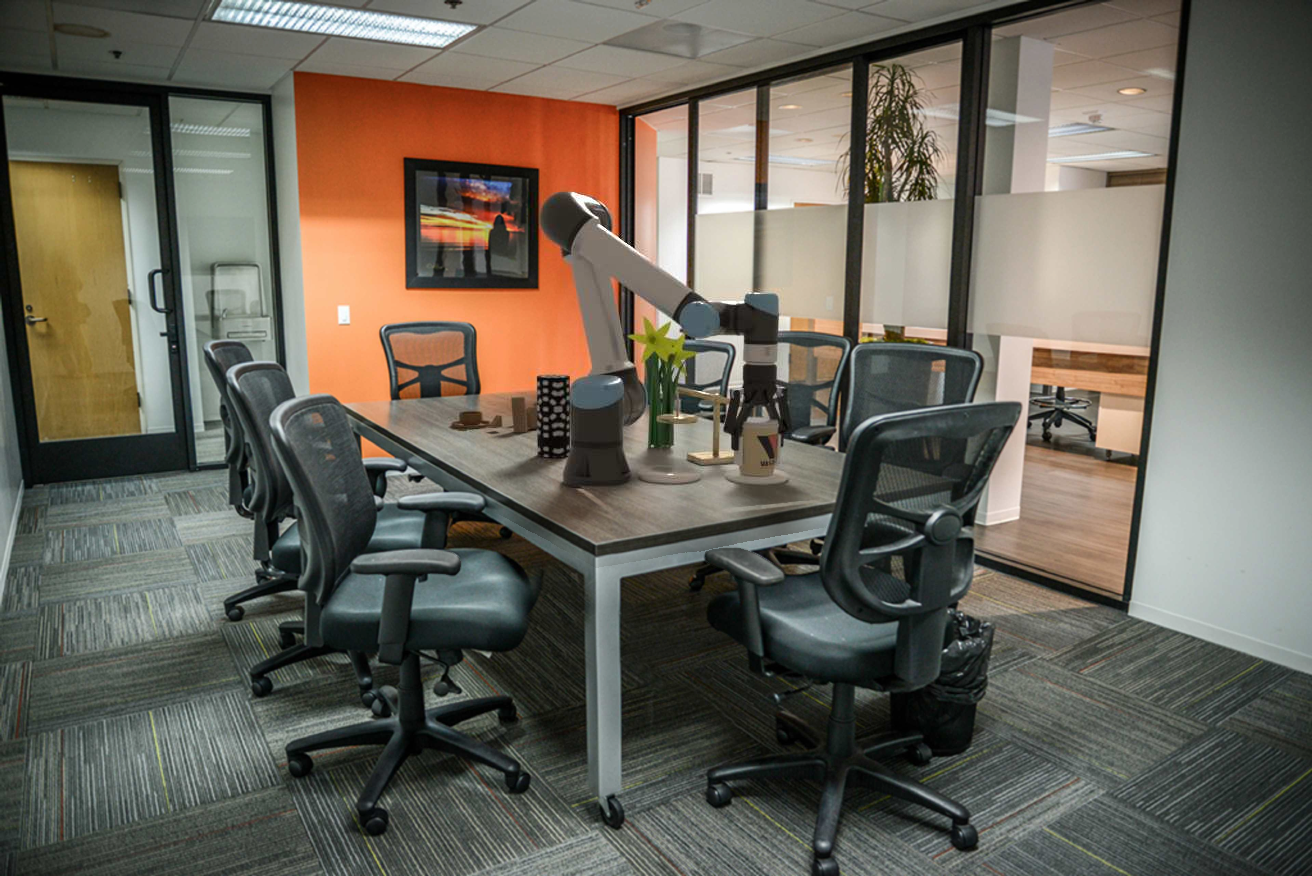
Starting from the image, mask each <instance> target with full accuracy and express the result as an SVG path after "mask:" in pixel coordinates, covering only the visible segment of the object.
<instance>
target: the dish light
mask: <svg viewBox="0 0 1312 876" xmlns="http://www.w3.org/2000/svg"><path fill="white" fill-rule="evenodd" d="M638 478H639V479H640V480H641V481H645V482H648V483H655V484H667V485H668V484H669V485H671V484H672V485H673V484H674V485H675V484H676V485H677V484H688V483H689V484H690V483H694V482H697V481H700V479H701V472H700V471H699V470H697V469H693V468H690V467H689V468H688V467H682V466H681V467H680V466H654V467H653V466H652V467H647V468H643V469H641V470H639V471H638Z"/></svg>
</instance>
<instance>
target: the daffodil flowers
mask: <svg viewBox="0 0 1312 876" xmlns="http://www.w3.org/2000/svg"><path fill="white" fill-rule="evenodd" d="M642 317H643V318H642V319H643V326H644V331H645V334H643V333H641V334H640V333H636V334H635V333H634V334H629V335H627V338H629V339H631V340H633V341H635V342H637V343H640V344H642V345H644V346H645V348H644V351H643V353H642V357H641V364H644V362H645V367H646V377H647V389H648V390H647V393H648V405H649V407H648V410H649V412H648V413H649V414H648V415H649V417H648V430H647V431H648V433H647V435H648V436H647V449H652V446H653V447H654V448H657V449H661V448H663V447H664V446H665V447H666V446H668V448H671V447H673V446H675V424H668V423H661V422H658V421H657V416H658V415H664V414H674V412H675V411H674V410H675V404H676V403H675V402H676V397H677V391H676V390H677V387H678V385H679V384H678V383H679V379H680V374H681V373H682V374H683V376H685V377H688V374H687V371H686V369H685V366H684V365H685V363H687V361H688V359H690V358H692V357H693V356H696V355H697V354H699V352H698V351H693V350H691V351H690V350H684V349H683V345H684V342H685V336H686V334H685V333H684V332H683V334H682V335H680V336H679V337H678V339H673V338H670V337H666V335H668V333H669V331H670V327H671V324H672V322H671V321H669V322H667V323H665V324H664V325H663V326H661V327H659V328H658V329H657V330H655V328H654V326H653V324H652V323H651V322H650V320H649V319H648V318H647V317H646V316H642ZM652 355H653V358H652V357H651V356H652ZM649 357H650V361H651V363H650V361H649ZM683 360H684V361H683ZM659 361H660V363H659ZM682 361H683V362H682ZM659 364H660V366H659ZM673 366H674V367H673ZM675 368H677V369H678V370H677V373H676V375H675V377H674V380H673V374H674V372H675ZM661 393H662V394H661ZM661 395H662V398H661Z"/></svg>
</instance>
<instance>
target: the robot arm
mask: <svg viewBox="0 0 1312 876" xmlns="http://www.w3.org/2000/svg"><path fill="white" fill-rule="evenodd" d="M538 217H539V219H538V220H539V225H540V228H541V230H542V232H543V234H544V235H545V237H546V238H547V239H549V241H550V242H552V243H554V244H556V245H557V246H558V247H560V252H561V256H562V260H563V261H564V262H566V264H568V265H570V268H571V272H572V277H573V281H574V282H573V283H574V287H575V291H576V296H577V300H578V301H577V302H578V305H579V306H578V307H579V310H580V316H581V320H582V325H583V330H584V334H585V339H586V344H587V348H588V353H589V359H590V364H591V368H590V370H589V372H588V374H587V376H582V377H578V378H577V379H575V380H573V382H571V384H570V396H569V398H570V452H569V455H568V456H567V459H566V462H565V464H564V469H563V472H562V484H564V485H565V486H568V487H571V488H575V489H584V488H583V487H611V486H620V485H624V484H627V483H628V482H631V480H632V478H631V476H632V473H631V472H632V471H631V469H630V466H629V463H628V459H627V457H626V453H625V450H624V427H629V426H631V425H633V424H635V423H636V422H637V421H638V420H640V419H641V418H642V416H643V415H644V414H645V412H646V411H647V407H648V405H649V393H648V390H647V388H646V385H645V384H644V382H642V381H641V380H640V379H639V374H638V370H637V369H638V368H637V366H636V364H634V363H633V362H631V361H630V360H629V359H628V354H627V349H626V343H625V338H624V334H623V329H622V324H621V320H620V313H619V310H618V304H617V299H616V295H615V291H614V290H615V289H614V285H613V279H614V280H615V281H617V282H618V283H620V284H622V285H623V286H624V287H626V288H627V289H629V290H630V291H631V292H632V293H634V294H635V295H637V296H638V297H640V298H641V299H642V300H644V301H645V302H646V303H648V304H650V305H651V306H652V307H654V308H655V309H656V310H658V311H659V312H661V313H662V314H664V315H665V316H666V317H668V318H669V319H671V320H672V321H673V322H674V323H676V324H677V325H678V326H680V327H681V330H682V332H683V334H684V333H685V335H687V336H689V337H690V338H692V339H693V338H694V339H697V340H702V339H703V340H704V339H708V338H710V337H716V336H738V337H739V336H741V337H742V336H743V351H742V352H743V353H742V355H743V356H742V361H743V362H745V363H744V364H743V365H742V386H741V388H730V390H729V399H730V403H729V404H728V407H727V412H726V415H725V420H724V421H725V422H724V423H723V424H724V425H723V429H722V431H723V433H726V434H728V435H730V448H731V451H733V452H734V463H733V465H737V466H738V467H739V466H742V464H743V436H740V434H741V432H742V430H743V427H742V425H744V422H746V421H747V419H748V417H750V414H751V412H752V411H753V410H752V409H753V408H754V407H755V406H756V407H757V406H761V405H762V406H763V407H764V408H765V410H766V412H767V415H768V418H771V419H774V420H776V419H777V420H778V423H779V426H778V434H777V445H776V455H775V464H776V463H777V464H778V463H781V452H782V451H781V449H782V448H784V441H785V440H784V439H785V435H786V434H787V433H788V431H790V432H791V430H793V424H792V420H791V419H792V417H791V412H790V408H789V407H790V406H789V400H788V397H789V395H788V394H789V388H787V387H784V386H779V387H777V384H776V382H777V379H778V378H777V376H778V375H777V374H778V366H777V365H776V364H775V363H777V362H778V342H779V324H780V323H779V322H780V309H779V305H780V304H779V300H780V299H779V296H778V295H777V294H776V293H774V292H747V293H746V294H745V295H744V299H743V301H728V300H727V301H724V300H723V301H720V300H708V299H706V298H704V297H703V296H701V295H700V294H699V293H697V292H695V291H694V289H691V288H690V287H689V286H687V285H685V284H684V283H683V282H681V281H680V280H679V279H678V278H676V277H674V276H673V275H671V274H670V273H669V272H667V271H666V270H664V268H661V267H660V266H659V265H658V264H656V263H654V262H653V261H652V260H650V259H649V258H648V257H646V256H645V255H643V254H641V252H639V251H637V250H636V249H634V248H633V247H632V246H631V245H629V244H627V243H626V242H624V241H623V240H622V239H620V238H619V237H618V236H616V235H615V234H614V233H613V228H614V222H613V217H612V214H611V212H610V210H609V209H608V207H607V206H606V205H605V204H604V203H602V202H601V201H600V200H598V199H596V198H595V197H593V196H589V195H584V194H583V195H582V194H578V193H576V192H574V191H566V190H565V191H558V192H555V193H553V194H551V195H550V196H549V197H547V198H546V199H545V201H544V202H543V204H542V205H541V208H540V211H539V216H538ZM612 278H613V279H612ZM775 395H776V398H777V401H776V402H777V404H776V402H775V400H774V397H775ZM742 397H744V399H743V401H742V402H743V403H742V407H739V404H740V401H741V399H742ZM776 405H778V410H777V406H776ZM739 409H740V410H739ZM778 411H779V412H778Z"/></svg>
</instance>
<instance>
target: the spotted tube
mask: <svg viewBox="0 0 1312 876" xmlns="http://www.w3.org/2000/svg"><path fill="white" fill-rule="evenodd" d="M570 392H571V376H570V375H566V374H540V375H537V376H536V403H537V427H536V428H537V429H536V430H537V433H536V434H537V437H536V439H537V441H536V443H537V446H536V447H537V456H539V457H542V458H564V457H568V455H569V452H570V448H571V431H570V398H569V396H570Z"/></svg>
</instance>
